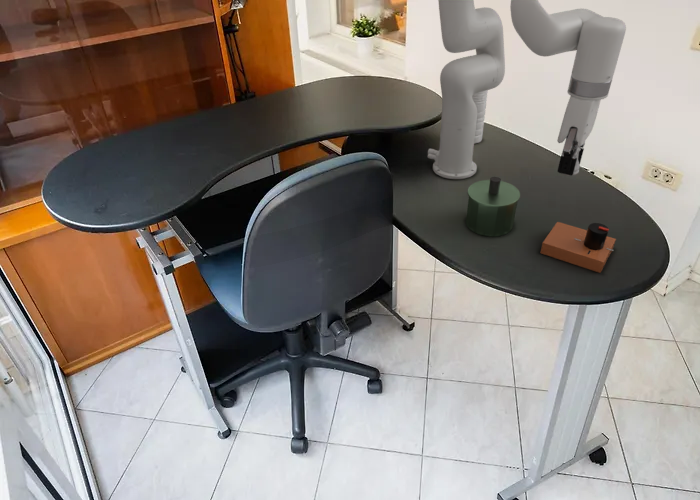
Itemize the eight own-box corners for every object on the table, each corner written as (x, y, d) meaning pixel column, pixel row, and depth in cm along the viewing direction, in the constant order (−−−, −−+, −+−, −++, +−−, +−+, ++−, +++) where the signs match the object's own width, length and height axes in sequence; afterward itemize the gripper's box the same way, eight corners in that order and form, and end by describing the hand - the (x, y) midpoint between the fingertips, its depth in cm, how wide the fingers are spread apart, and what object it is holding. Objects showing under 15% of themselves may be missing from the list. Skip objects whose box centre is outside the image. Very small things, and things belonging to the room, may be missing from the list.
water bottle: (469, 145, 159) (478, 65, 144) (457, 138, 164) (464, 60, 149) (491, 139, 162) (502, 60, 147) (478, 132, 167) (487, 55, 152)
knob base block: (540, 253, 114) (542, 242, 112) (554, 231, 120) (557, 220, 118) (603, 274, 107) (607, 262, 105) (615, 250, 114) (619, 239, 112)
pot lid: (458, 200, 119) (460, 183, 116) (480, 179, 126) (482, 162, 124) (507, 215, 113) (510, 197, 110) (527, 192, 120) (530, 174, 118)
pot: (458, 227, 124) (461, 197, 118) (477, 207, 131) (481, 178, 125) (501, 242, 118) (506, 211, 113) (519, 219, 125) (525, 190, 120)
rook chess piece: (582, 175, 109) (592, 141, 105) (563, 177, 109) (572, 143, 104) (571, 165, 113) (580, 132, 108) (553, 168, 112) (561, 134, 108)
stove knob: (581, 246, 110) (586, 228, 107) (586, 237, 113) (591, 219, 110) (600, 252, 108) (606, 234, 106) (605, 243, 111) (611, 225, 108)
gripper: (581, 71, 107) (562, 149, 118) (556, 96, 96) (538, 180, 107) (619, 76, 103) (596, 157, 114) (598, 103, 92) (575, 190, 103)
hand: (568, 167), depth 110 cm, fingers closed on rook chess piece, 4 cm apart
